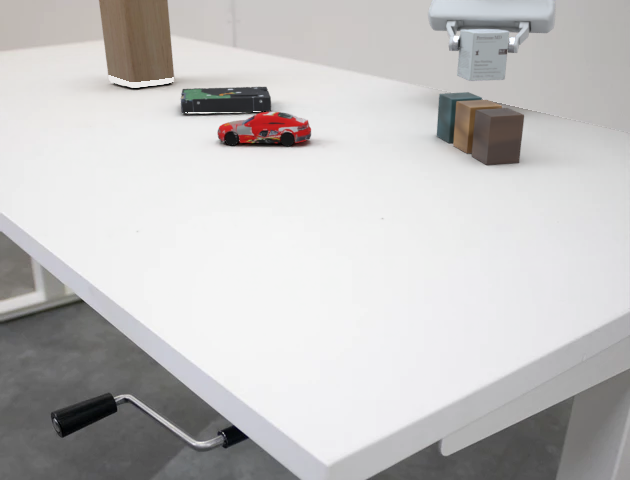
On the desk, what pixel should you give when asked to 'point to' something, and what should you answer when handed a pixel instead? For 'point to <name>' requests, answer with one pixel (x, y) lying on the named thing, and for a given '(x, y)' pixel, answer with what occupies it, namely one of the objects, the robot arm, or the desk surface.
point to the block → (137, 39)
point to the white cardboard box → (482, 54)
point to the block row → (480, 127)
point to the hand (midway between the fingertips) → (482, 49)
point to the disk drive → (225, 99)
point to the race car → (266, 129)
